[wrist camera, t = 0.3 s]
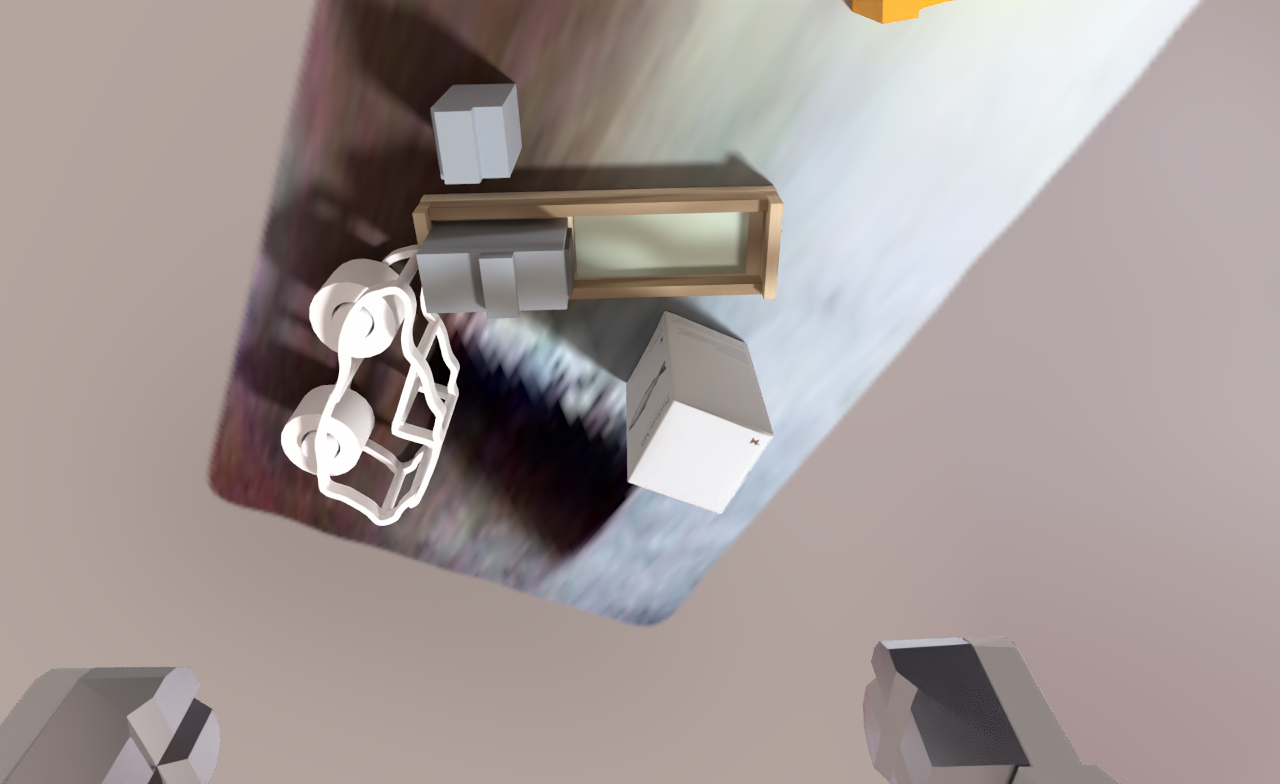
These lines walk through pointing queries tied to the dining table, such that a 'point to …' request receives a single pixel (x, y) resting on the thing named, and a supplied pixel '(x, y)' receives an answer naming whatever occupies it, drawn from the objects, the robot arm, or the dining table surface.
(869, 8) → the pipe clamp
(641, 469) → the supplement box
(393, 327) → the car outline toy
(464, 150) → the stepped grey block
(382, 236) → the dining table surface
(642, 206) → the wooden rectangular frame
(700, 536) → the dining table surface
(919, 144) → the dining table surface
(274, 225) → the dining table surface
